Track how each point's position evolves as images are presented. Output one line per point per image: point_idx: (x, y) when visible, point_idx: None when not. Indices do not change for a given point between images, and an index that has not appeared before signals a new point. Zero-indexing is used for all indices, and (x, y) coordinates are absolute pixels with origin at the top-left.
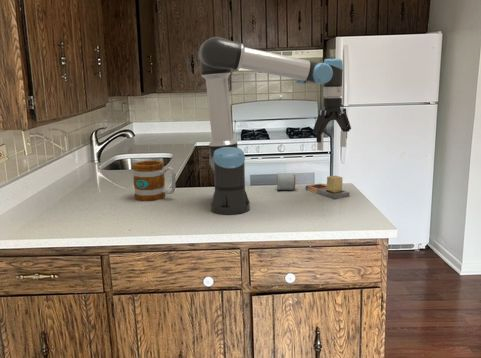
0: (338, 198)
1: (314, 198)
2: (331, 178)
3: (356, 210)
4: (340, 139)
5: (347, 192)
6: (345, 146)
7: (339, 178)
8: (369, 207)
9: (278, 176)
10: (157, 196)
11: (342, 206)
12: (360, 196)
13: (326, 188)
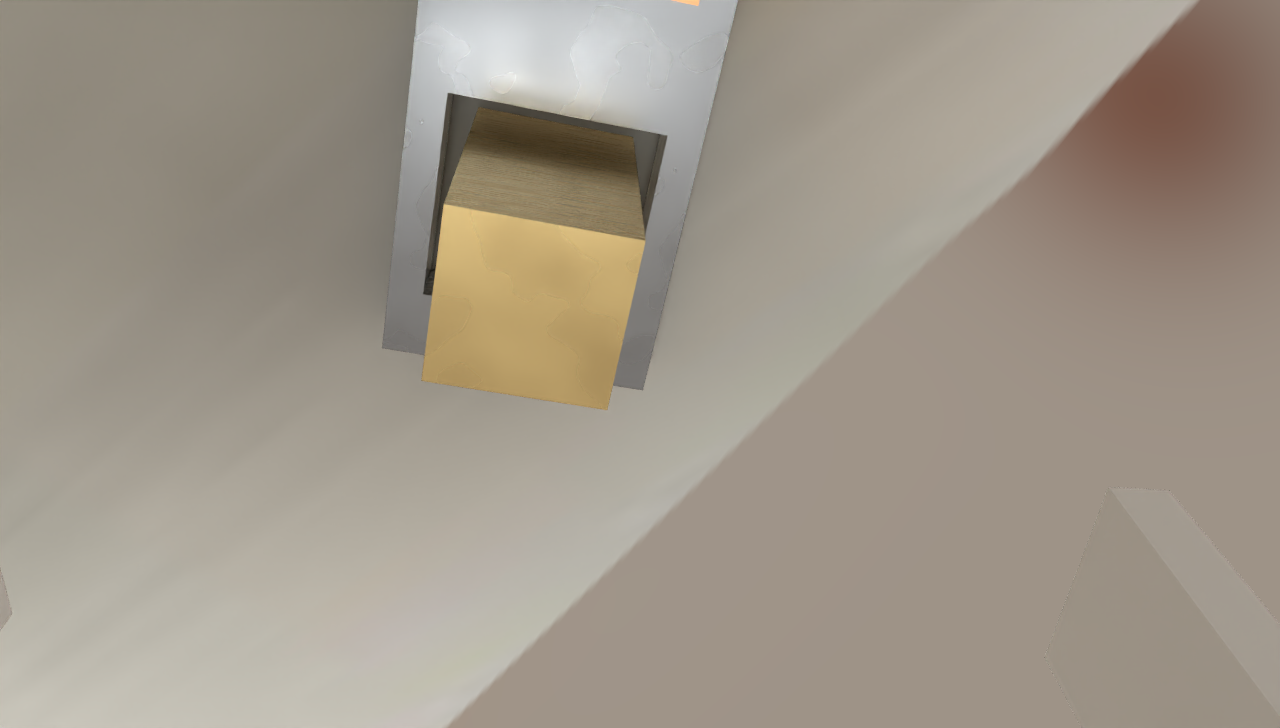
0: None
1: (197, 111)
2: (431, 316)
3: (259, 693)
4: (1249, 684)
5: (619, 374)
6: (1072, 674)
7: (543, 395)
8: (439, 706)
9: None
10: None
11: (243, 549)
12: (741, 436)
13: (592, 11)
